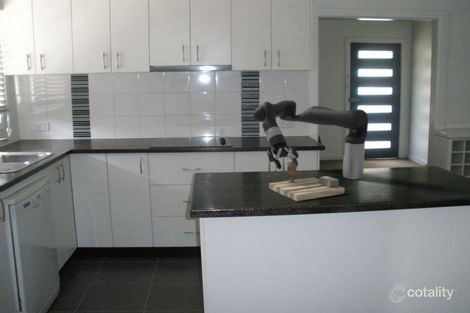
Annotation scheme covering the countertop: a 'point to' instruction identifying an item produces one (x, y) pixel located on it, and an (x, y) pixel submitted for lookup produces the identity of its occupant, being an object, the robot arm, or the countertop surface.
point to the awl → (291, 171)
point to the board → (305, 189)
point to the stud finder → (328, 181)
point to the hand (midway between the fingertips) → (288, 167)
